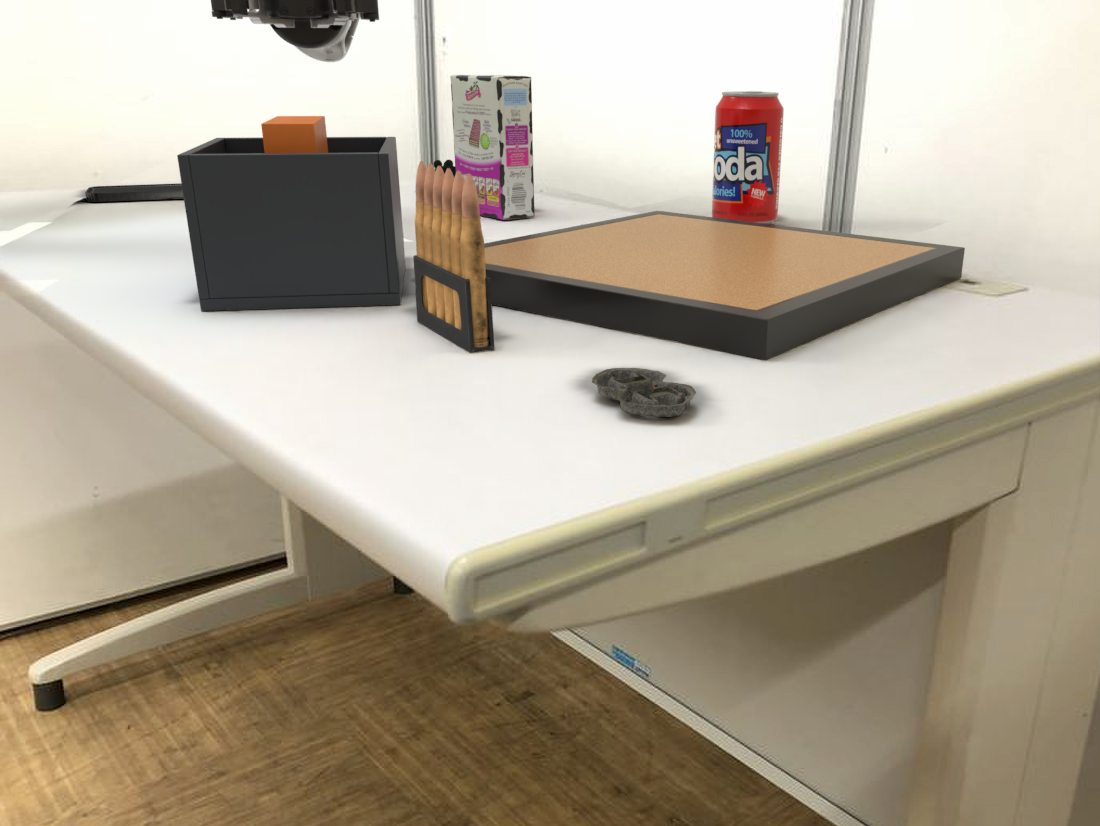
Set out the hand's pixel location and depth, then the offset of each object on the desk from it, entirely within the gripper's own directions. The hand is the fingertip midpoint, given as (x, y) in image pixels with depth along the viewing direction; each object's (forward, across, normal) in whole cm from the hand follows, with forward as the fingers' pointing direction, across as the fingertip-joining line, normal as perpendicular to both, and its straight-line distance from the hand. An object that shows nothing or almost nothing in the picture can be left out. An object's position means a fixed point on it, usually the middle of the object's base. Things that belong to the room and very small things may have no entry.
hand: (287, 1), depth 89 cm
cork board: (+8, -34, -23) cm, 42 cm away
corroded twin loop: (+41, -23, -23) cm, 53 cm away
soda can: (-24, -47, -23) cm, 58 cm away
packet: (+5, 0, -22) cm, 23 cm away
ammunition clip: (+23, -12, -23) cm, 35 cm away
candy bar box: (-36, -18, -23) cm, 46 cm away
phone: (-57, +28, -23) cm, 67 cm away
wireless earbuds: (-52, -12, -23) cm, 58 cm away
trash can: (+5, 0, -23) cm, 24 cm away
